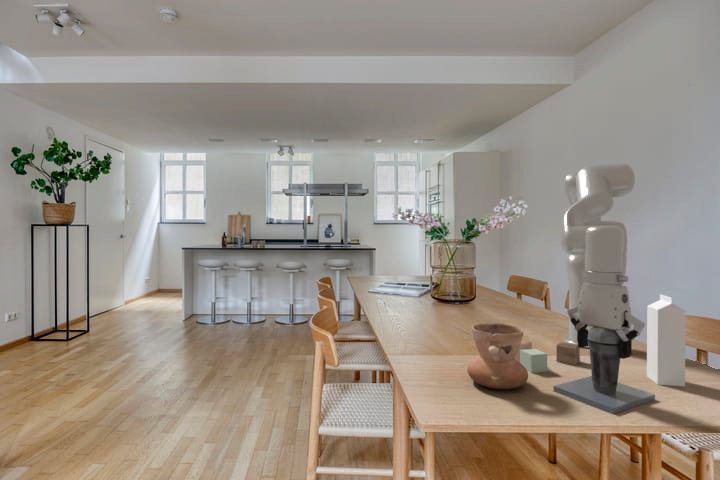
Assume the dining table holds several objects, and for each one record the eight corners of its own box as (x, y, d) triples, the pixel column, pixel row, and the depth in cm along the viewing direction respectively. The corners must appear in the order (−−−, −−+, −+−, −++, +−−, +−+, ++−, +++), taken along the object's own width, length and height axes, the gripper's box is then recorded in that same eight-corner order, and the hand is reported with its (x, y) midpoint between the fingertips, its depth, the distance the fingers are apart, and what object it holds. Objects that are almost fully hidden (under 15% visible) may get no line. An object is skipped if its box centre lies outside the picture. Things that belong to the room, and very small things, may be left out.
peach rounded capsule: (519, 358, 121) (519, 338, 121) (536, 363, 116) (536, 343, 116) (505, 360, 119) (505, 340, 118) (522, 366, 113) (522, 345, 113)
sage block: (535, 366, 114) (535, 348, 114) (547, 371, 109) (547, 353, 109) (519, 367, 113) (520, 349, 113) (531, 373, 108) (531, 354, 108)
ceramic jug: (526, 401, 89) (526, 338, 89) (461, 390, 95) (461, 332, 95) (529, 376, 106) (529, 322, 106) (473, 368, 112) (473, 318, 112)
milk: (657, 385, 99) (657, 297, 99) (646, 376, 105) (646, 293, 105) (685, 387, 98) (685, 297, 98) (673, 378, 104) (673, 294, 104)
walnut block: (561, 358, 121) (561, 341, 121) (579, 361, 118) (579, 344, 118) (556, 362, 118) (556, 345, 118) (575, 365, 114) (575, 348, 114)
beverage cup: (579, 385, 96) (580, 302, 95) (607, 384, 96) (608, 302, 96) (600, 397, 88) (601, 307, 88) (631, 396, 89) (632, 307, 89)
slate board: (594, 379, 103) (594, 375, 103) (655, 399, 90) (655, 394, 90) (553, 390, 95) (553, 385, 95) (613, 414, 83) (613, 408, 83)
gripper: (653, 281, 87) (652, 359, 87) (578, 274, 102) (578, 341, 102) (633, 284, 83) (633, 365, 83) (559, 276, 99) (558, 344, 99)
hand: (602, 351), depth 93 cm, fingers open, 9 cm apart
